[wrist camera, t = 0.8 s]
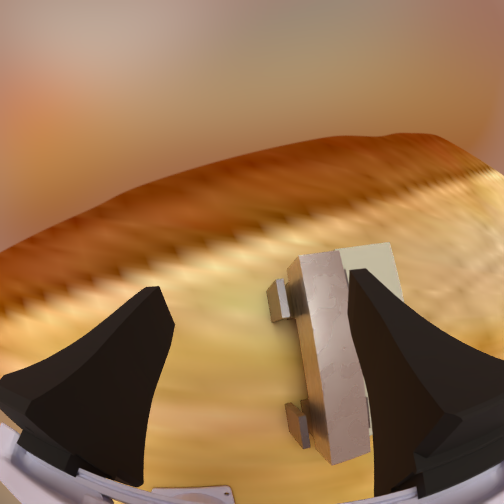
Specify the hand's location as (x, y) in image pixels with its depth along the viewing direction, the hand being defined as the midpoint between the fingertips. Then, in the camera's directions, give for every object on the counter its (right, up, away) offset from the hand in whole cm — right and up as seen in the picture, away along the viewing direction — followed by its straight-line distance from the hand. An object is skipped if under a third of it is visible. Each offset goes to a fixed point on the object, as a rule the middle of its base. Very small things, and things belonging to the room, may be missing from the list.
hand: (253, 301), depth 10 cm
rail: (+6, -7, +11) cm, 14 cm away
